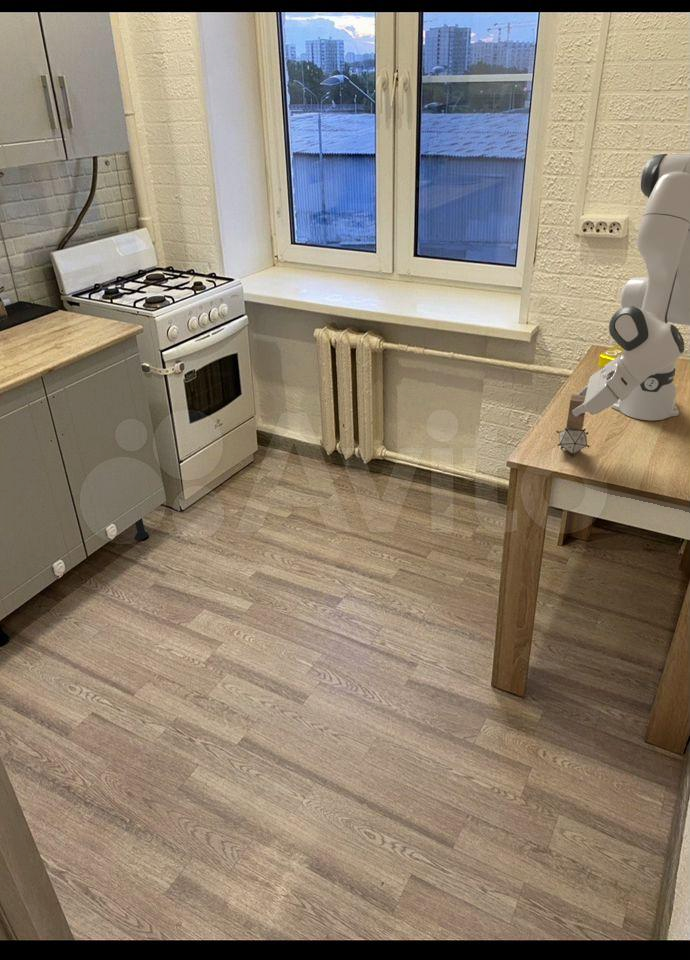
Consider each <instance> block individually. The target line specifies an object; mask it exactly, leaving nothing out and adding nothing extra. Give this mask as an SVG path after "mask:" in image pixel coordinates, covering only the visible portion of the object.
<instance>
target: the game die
mask: <svg viewBox="0 0 690 960" xmlns="http://www.w3.org/2000/svg"><path fill="white" fill-rule="evenodd" d="M586 430H587V429H586V428H584V429H582V430H579V429H571V428H566V427H565V428H564V429H562V430H560V431H559V430H556V433H558V437H559V438H558V441H559V443H557V446H558V447H559V446H560V449H561V450H563V449H564V450H566V452H568V453H569V454H571V456H570V457H571V458H573V457H574V454H575V453H578V452H579V451H581V450H582V449H584V448H586V447H587V448H591V446H590V445H588V440H587V439H588V438H587V435H589V433H590V432H588V431H587V432H586Z"/></svg>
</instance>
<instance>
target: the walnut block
mask: <svg viewBox="0 0 690 960" xmlns="http://www.w3.org/2000/svg"><path fill="white" fill-rule="evenodd" d="M585 397H586V396H583V395H577V394H571V397H570V400H569V405H568V406H569V407H568V414H567V421H566V427H565V428H571V429H579V430H583V427H584V421H585V415H586V412H585V413H581V414H580V415H578V416H574V415H573V414H572V410H573V409H574V408H575V407H577V406H580V405H582V403H584V401H585Z"/></svg>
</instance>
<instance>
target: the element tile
mask: <svg viewBox="0 0 690 960" xmlns="http://www.w3.org/2000/svg"><path fill="white" fill-rule="evenodd" d="M623 352H624V350H623V348H622V347H621V346H620V345H619V344H616V345H615V346H613V347H611V348H609V349H607V350H605V351H603V352H601V353H600V354H599V357H598V363H597V366H598V367H600V368H604V367H605V365H606V364H608V363H609V362H611V361H612V360H613V359H615V358H616V357H618V356H619V355H621V354H622V353H623Z"/></svg>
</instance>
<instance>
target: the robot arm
mask: <svg viewBox="0 0 690 960" xmlns="http://www.w3.org/2000/svg"><path fill="white" fill-rule="evenodd" d="M640 190H641V192H642V193H643V195H644V196H645V197H647V198H648V200H647V202H646V204H645V207H644V209H643V211H642V212H643V213H642V217H641V220H640V222H639V226H638V230H637V231H638V232H637V240H636V245H637V249H638V251H639V253H640V255H641V257H642V259H643V261H644V263H645V267H646V270H647V276H637V277H631V278H630V279H628V281H626V282H625V283H624V285H623V286H622V288H621V290H620V293H619V304H620V307H621V308H620V309H618V310H617V311H616V312H614V313H613V315H612V316H611V319H610V321H609V325H608V332H609V334H610V336H611V338H612V340H613V341H615V342H616V343H617V345H620V346H621V347H622V348H623V350H624V352H623V353H622V354H621V355H619V356H618V357H616V358H615V359H613V360H612V361H611V362H609V363H608V364H606V365H605V367H604V368H603V367H601V368H600V369H599V370H597V371H596V372H595V373H593V374H592V375H591V376H590V377H589V380H588V384H587V385H585V387H584V388H583V389H582V390H581V391H580V392H578V393H577V394H576V395H583V396H586V397H585V401H584V403H582V405H580V406H577V407H575V408H574V409H573V410H572V414H573V415H574V416H578V415H580V414H581V413H585V414H586V413H587V412H588V414H590V415H591V416H594V415H598V414H600V413H601V412H603V411H605V410H606V409H608V408H610V407H611V408H612V409H615V410H617V411H619V412H620V413H622V414H624V415H625V416H628V417H631V418H632V419H637V420H643V421H661V420H666V419H668V418H671V417H677V416H679V413H680V411H679V410H678V407H677V405H676V403H675V401H676V396H677V390H678V389H677V387H676V385H674V383H673V382H674V379H675V376H676V368H675V366H676V361H677V360H678V359H679V358H680V357H681V356H682V355H683V353H684V351H685V341H684V338H683V335H682V334H681V332H680V331H679V329H678V327H677V326H675V325H674V324H676V325H683V326H690V153H678V154H667V153H661V154H660V153H659V154H656V155H652V157H651V158H649V159H648V160H647V161H646V163H645V164H644V168H643V169H642V171H641V175H640Z"/></svg>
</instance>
